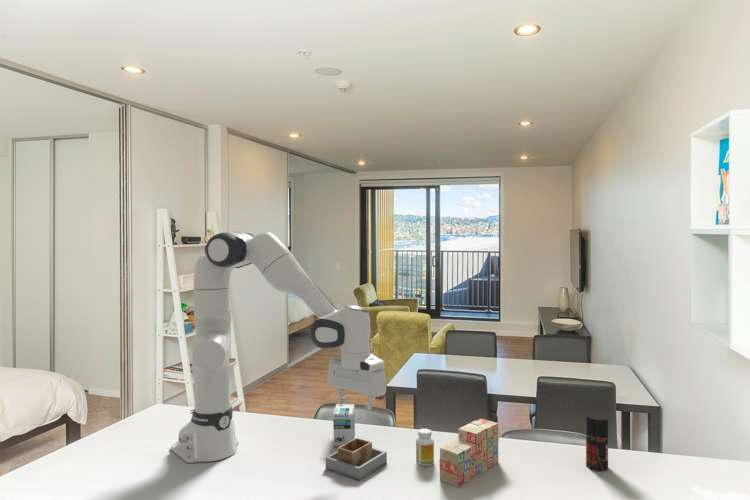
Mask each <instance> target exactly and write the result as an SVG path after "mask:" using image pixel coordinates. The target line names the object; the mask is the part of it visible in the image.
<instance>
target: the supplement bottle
mask: <svg viewBox="0 0 750 500" xmlns="http://www.w3.org/2000/svg"><path fill="white" fill-rule="evenodd" d="M432 433H433V432H432V430H431V429H428V428H420V429H418V433H417V435H418V436H417V438H416V440H415V454H416V455H415V462H416V464H417V465H419V466H422V467H430V466H432V465H434V464H435V463H434V462H435V442H434V441H435V439H434V438H433V437H432V435H433V434H432Z"/></svg>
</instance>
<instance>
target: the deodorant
mask: <svg viewBox="0 0 750 500" xmlns="http://www.w3.org/2000/svg"><path fill="white" fill-rule="evenodd" d="M585 431H586V432H585V445H586V446H585V463H586V464H585V467H587V468H588V469H589V470H592V471H594V472H606V471H608V470H609V417H608V416H607V415H606V414H602V413H598V412H591V413H589V412H588V413H586V415H585Z"/></svg>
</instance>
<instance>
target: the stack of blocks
mask: <svg viewBox="0 0 750 500" xmlns="http://www.w3.org/2000/svg"><path fill="white" fill-rule="evenodd" d="M497 464H499V423H498V422H494V421H491V420H487V419H484V418H478V419H477V420H474V421H471V422H470V423H467V424H466V425H463V426H461V427H459V428H458V437H457V439H455V440H454V441H451V442H448V443H447V444H445V445H443V446H441V447H439V480H440V481H442V482H445V483H446V484H449V485H451V486H455V487H457V488H458V487H460V486H461V485H463V484H465V483H466V482H469V481H470V480H472V479H473V478H475V477H476V475H477V476H478V475H480V474H481V473H484V472H485V471H486V470H489V469H491V468H492V467H494V466H496V465H497ZM471 478H472V479H471Z"/></svg>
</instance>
